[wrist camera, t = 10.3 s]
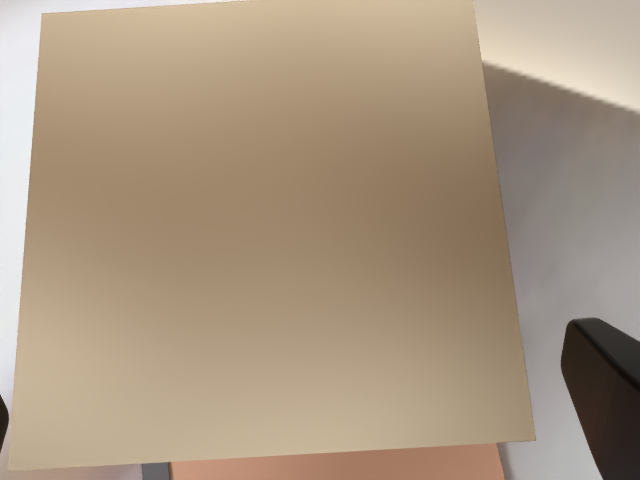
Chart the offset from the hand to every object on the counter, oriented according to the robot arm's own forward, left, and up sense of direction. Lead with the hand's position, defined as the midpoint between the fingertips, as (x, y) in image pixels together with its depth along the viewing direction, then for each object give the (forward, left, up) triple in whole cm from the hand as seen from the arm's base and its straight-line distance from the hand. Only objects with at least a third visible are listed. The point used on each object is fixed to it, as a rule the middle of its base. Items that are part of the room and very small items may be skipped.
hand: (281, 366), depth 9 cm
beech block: (+1, 0, -10) cm, 10 cm away
